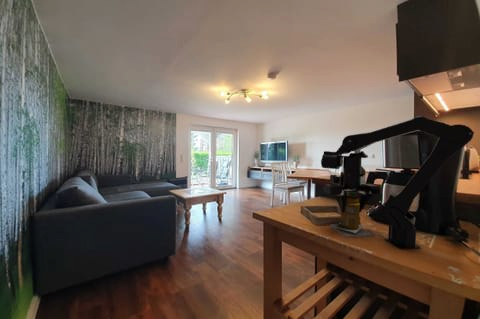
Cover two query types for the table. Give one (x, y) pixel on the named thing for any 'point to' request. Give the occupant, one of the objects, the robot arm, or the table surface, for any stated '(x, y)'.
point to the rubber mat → (351, 234)
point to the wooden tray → (317, 220)
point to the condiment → (350, 214)
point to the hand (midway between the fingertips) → (350, 212)
